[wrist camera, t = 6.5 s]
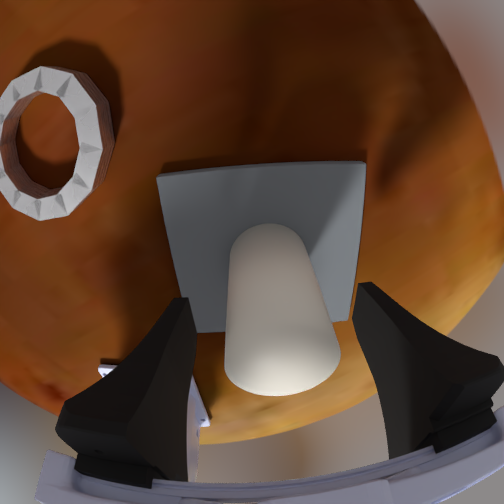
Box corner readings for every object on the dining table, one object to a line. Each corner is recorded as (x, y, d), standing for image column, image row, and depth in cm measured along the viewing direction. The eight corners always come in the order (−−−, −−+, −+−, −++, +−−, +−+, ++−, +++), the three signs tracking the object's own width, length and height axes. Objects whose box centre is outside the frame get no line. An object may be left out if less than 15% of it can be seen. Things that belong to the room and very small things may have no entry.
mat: (345, 314, 19) (347, 320, 18) (192, 326, 19) (191, 333, 18) (361, 160, 14) (366, 163, 13) (159, 174, 14) (156, 177, 13)
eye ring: (125, 197, 14) (115, 208, 13) (20, 216, 14) (7, 227, 13) (104, 48, 10) (90, 45, 9) (-5, 96, 10) (-21, 100, 9)
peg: (306, 284, 17) (335, 387, 11) (235, 292, 17) (234, 399, 11) (305, 219, 15) (346, 316, 9) (224, 228, 15) (213, 331, 9)
